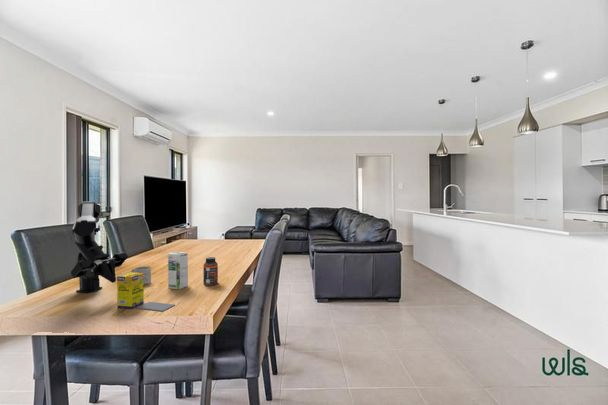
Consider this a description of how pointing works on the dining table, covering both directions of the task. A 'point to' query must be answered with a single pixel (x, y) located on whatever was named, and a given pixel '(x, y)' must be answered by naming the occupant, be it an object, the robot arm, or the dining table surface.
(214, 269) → the supplement bottle
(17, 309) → the dining table surface
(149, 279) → the grey box
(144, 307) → the mat
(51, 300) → the dining table surface
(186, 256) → the syrup box
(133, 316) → the dining table surface
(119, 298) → the supplement box
